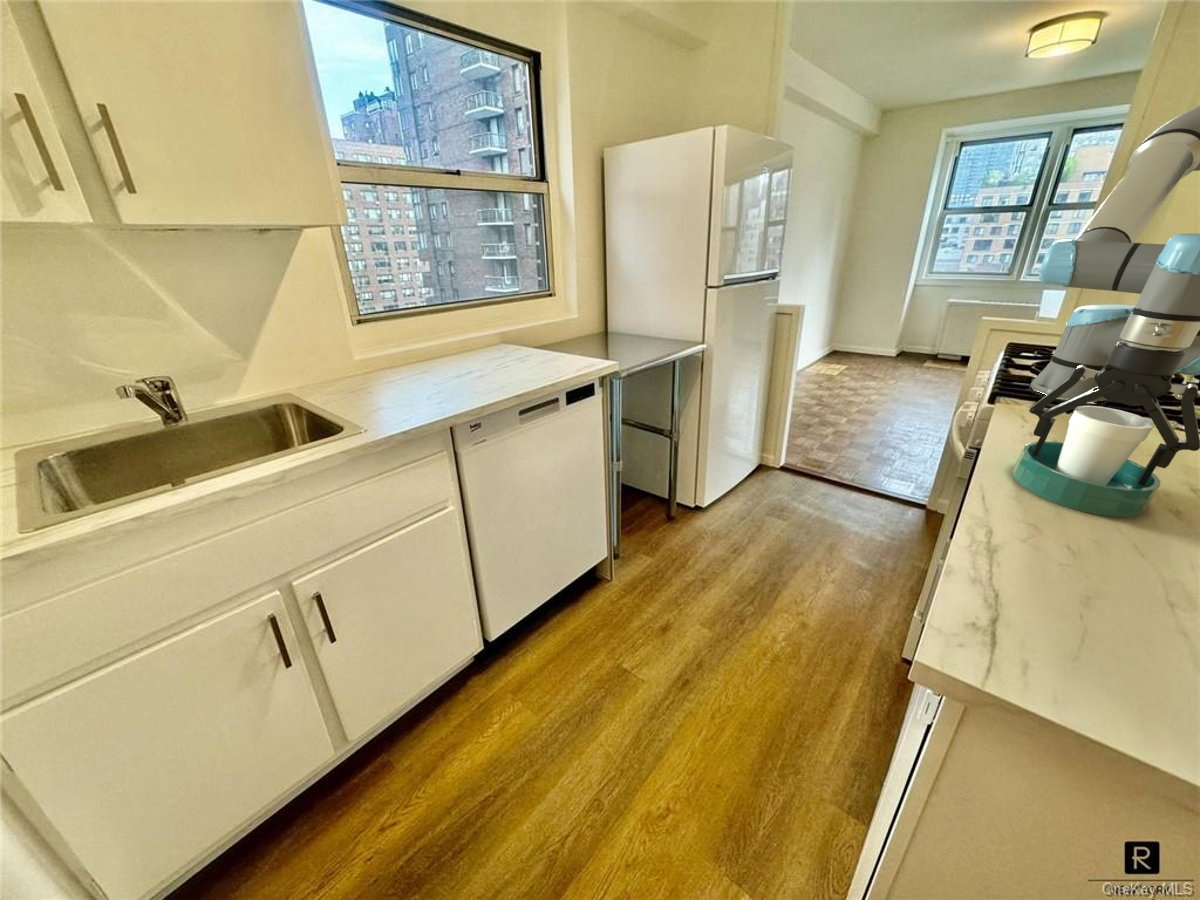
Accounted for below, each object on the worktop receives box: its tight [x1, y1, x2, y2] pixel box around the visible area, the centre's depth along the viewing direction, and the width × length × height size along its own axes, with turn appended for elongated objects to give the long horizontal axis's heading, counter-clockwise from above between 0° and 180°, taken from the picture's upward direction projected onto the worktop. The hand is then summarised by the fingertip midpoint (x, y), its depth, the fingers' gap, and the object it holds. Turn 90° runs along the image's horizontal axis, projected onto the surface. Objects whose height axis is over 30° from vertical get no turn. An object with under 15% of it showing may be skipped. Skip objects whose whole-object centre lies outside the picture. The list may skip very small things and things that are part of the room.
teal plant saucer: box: [1012, 441, 1162, 518], centre depth 84 cm, size 17×17×5 cm
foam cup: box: [1055, 406, 1155, 486], centre depth 81 cm, size 10×9×13 cm
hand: (1085, 467), depth 83 cm, fingers open, 13 cm apart
